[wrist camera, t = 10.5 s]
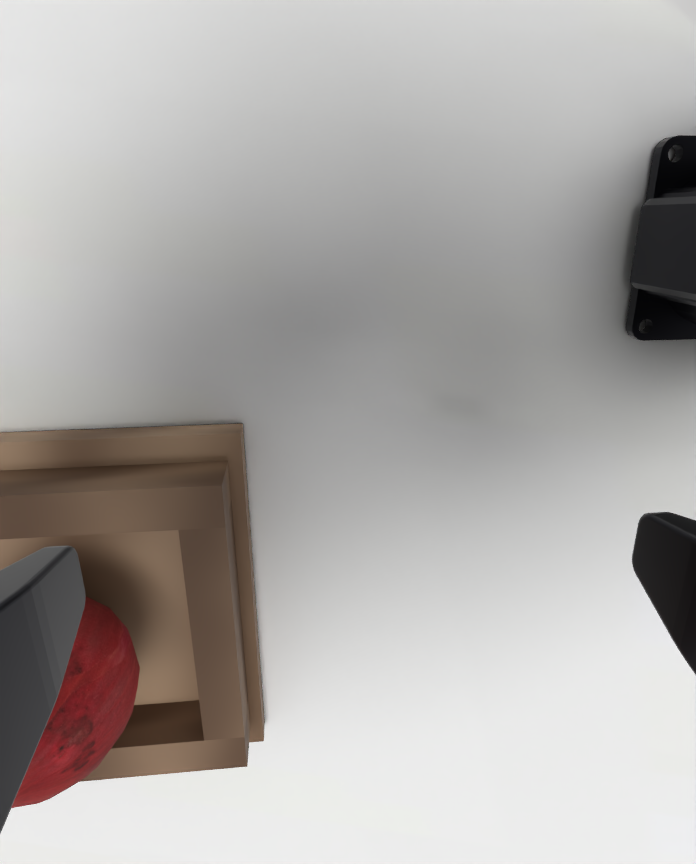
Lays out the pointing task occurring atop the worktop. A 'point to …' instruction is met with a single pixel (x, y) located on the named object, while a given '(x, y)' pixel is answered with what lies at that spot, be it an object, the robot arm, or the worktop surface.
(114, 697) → the onion
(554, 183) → the worktop surface
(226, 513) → the walnut holder
